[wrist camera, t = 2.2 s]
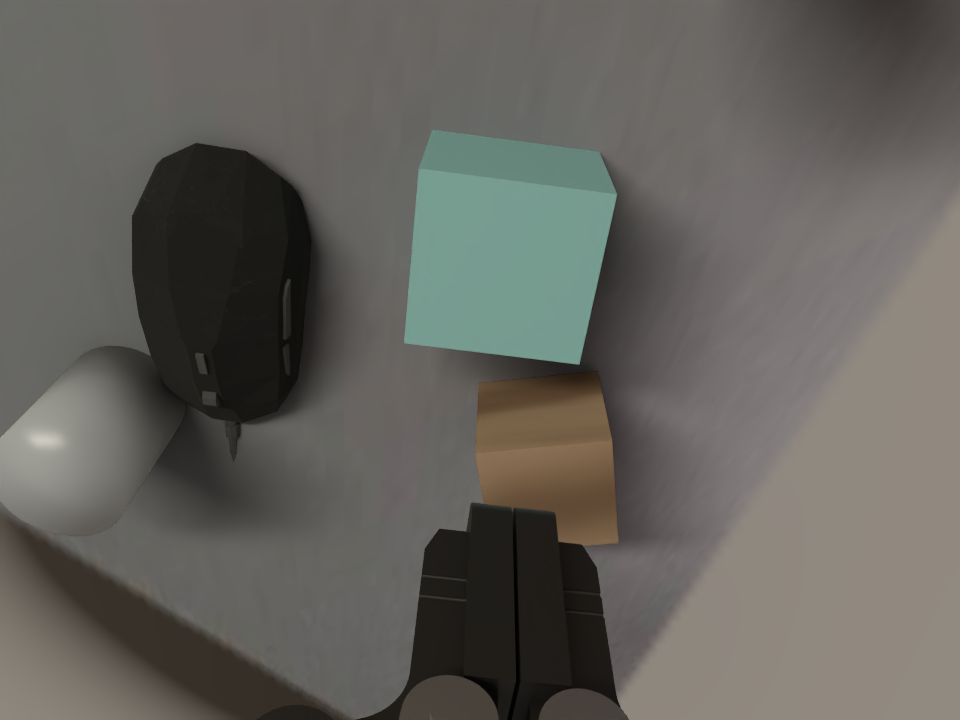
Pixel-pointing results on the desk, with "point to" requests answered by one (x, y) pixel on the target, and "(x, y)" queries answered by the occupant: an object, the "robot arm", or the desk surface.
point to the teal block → (507, 246)
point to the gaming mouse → (222, 281)
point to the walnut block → (550, 452)
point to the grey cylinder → (88, 443)
